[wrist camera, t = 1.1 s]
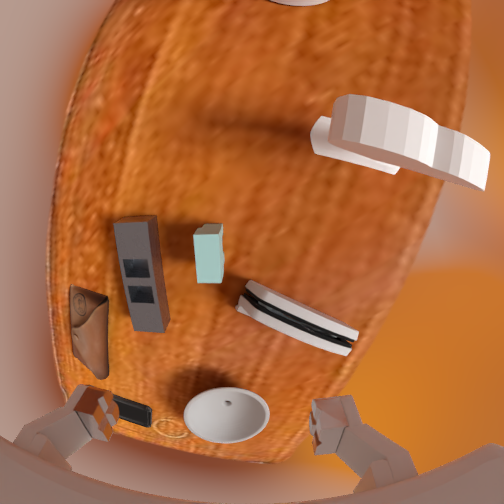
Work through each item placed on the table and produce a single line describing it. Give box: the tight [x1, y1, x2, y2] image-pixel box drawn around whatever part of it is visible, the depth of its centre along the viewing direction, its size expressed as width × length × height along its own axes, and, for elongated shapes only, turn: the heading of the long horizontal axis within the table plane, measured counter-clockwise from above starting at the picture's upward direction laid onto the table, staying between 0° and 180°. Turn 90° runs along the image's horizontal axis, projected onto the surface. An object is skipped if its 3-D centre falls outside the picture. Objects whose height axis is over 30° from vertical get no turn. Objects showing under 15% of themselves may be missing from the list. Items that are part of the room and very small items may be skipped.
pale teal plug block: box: [193, 224, 224, 283], centre depth 35 cm, size 6×3×6 cm, turn 1°
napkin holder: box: [235, 280, 359, 356], centre depth 37 cm, size 17×5×10 cm, turn 62°
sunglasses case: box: [70, 284, 109, 380], centre depth 42 cm, size 18×7×7 cm, turn 164°
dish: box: [184, 387, 270, 443], centre depth 45 cm, size 18×14×5 cm
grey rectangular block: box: [113, 215, 170, 333], centre depth 37 cm, size 16×5×4 cm, turn 1°
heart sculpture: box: [310, 94, 490, 191], centre depth 25 cm, size 16×5×18 cm, turn 81°
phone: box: [88, 385, 152, 427], centre depth 50 cm, size 8×1×15 cm
